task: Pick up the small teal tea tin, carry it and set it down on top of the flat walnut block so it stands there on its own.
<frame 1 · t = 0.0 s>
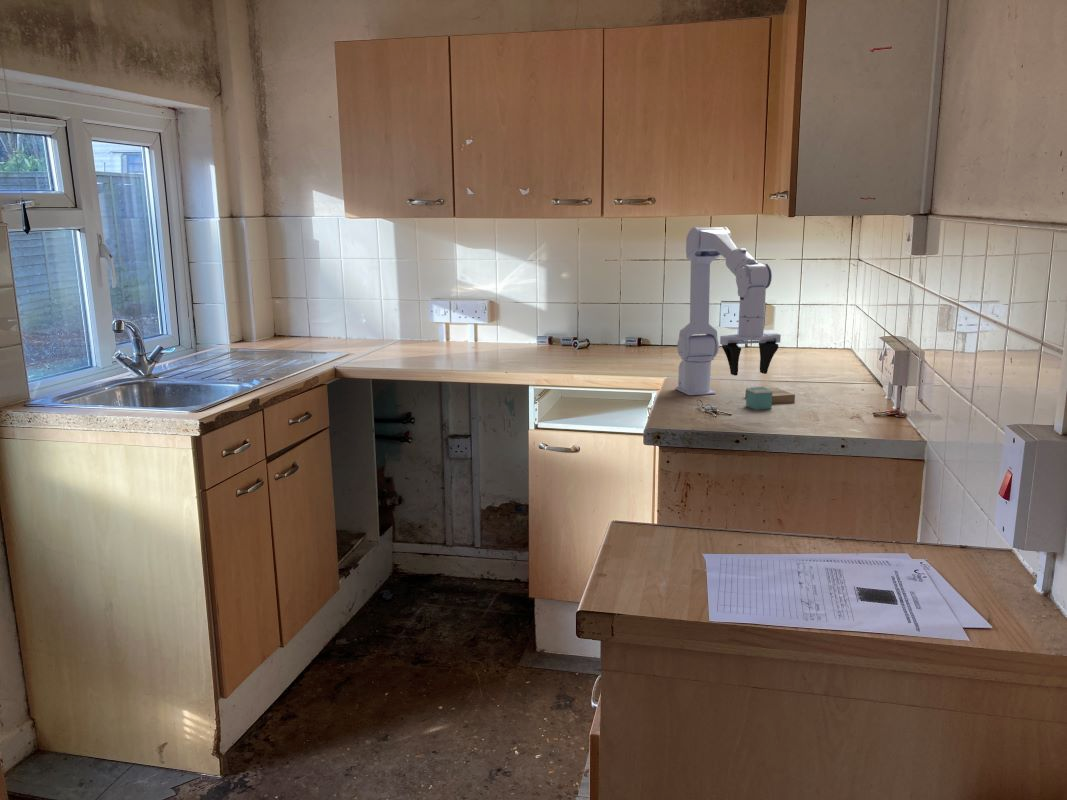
hand: (748, 373, 195), 10 cm above the table, fingers open, 7 cm apart
walnut block: (769, 401, 214), on the table
teal tin: (758, 407, 206), on the table
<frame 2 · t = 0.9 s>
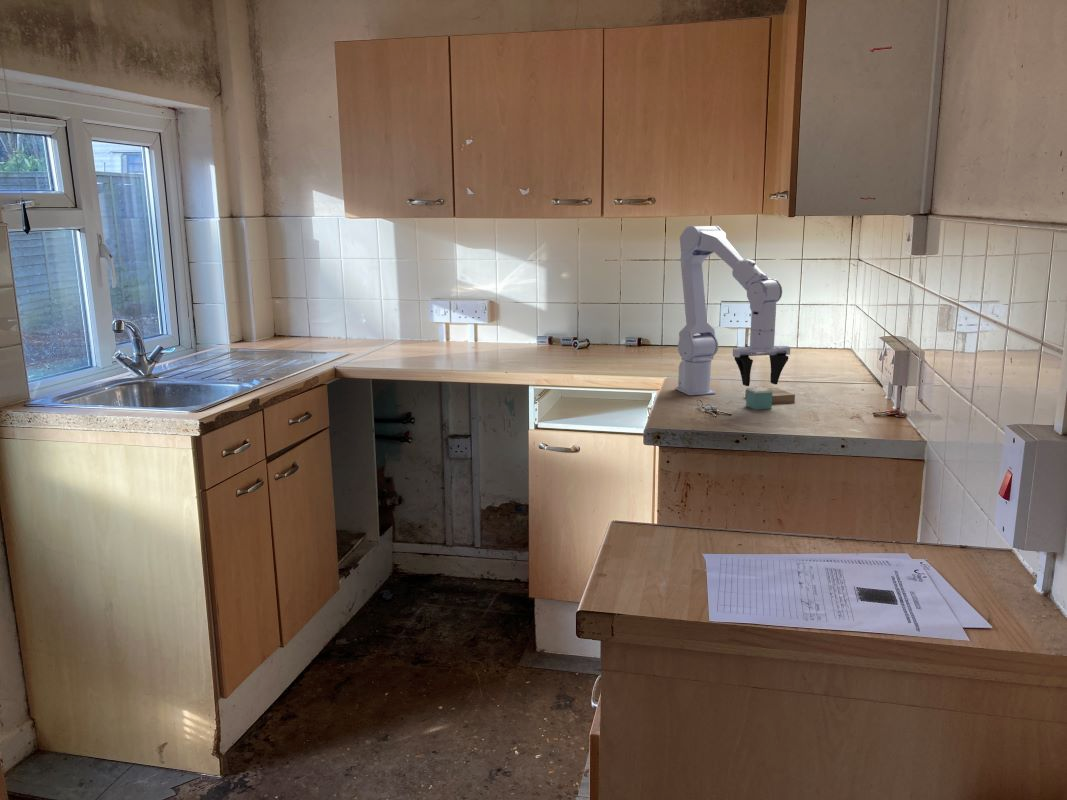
hand: (760, 384, 204), 6 cm above the table, fingers open, 7 cm apart
nothing on the table moved.
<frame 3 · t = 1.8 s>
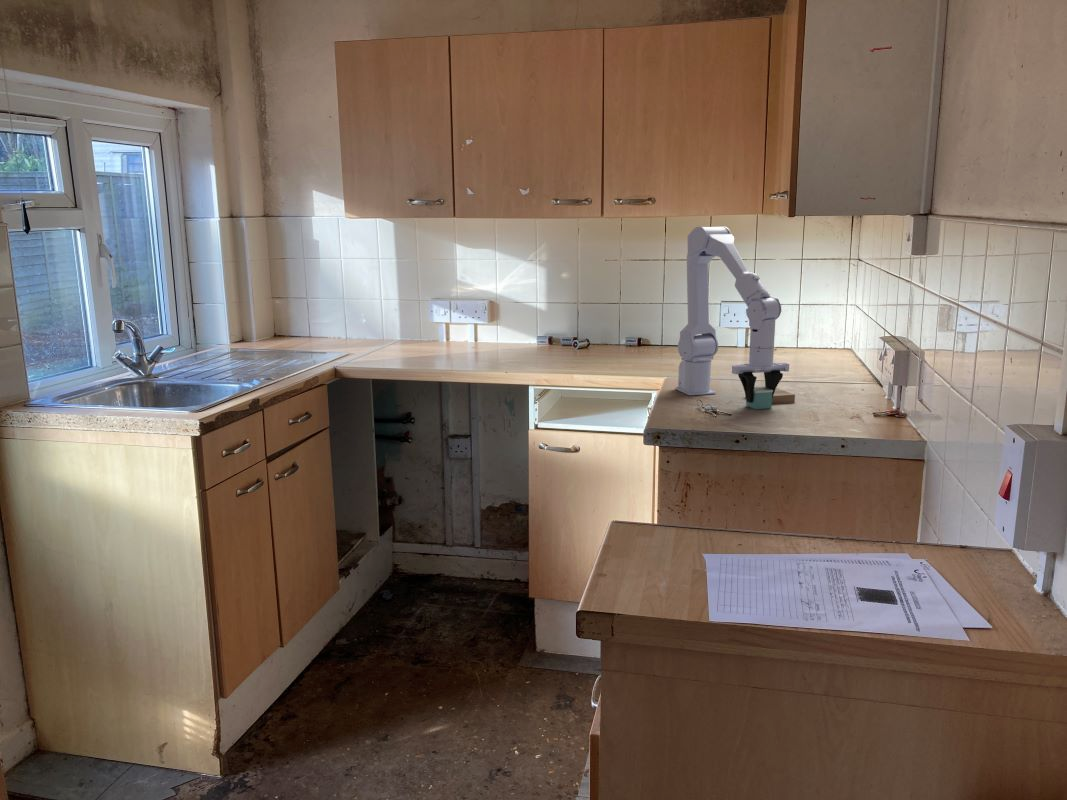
hand: (758, 401, 205), 1 cm above the table, fingers closed on teal tin, 5 cm apart
teal tin: (758, 406, 206), on the table, touching gripper
everything else where it was.
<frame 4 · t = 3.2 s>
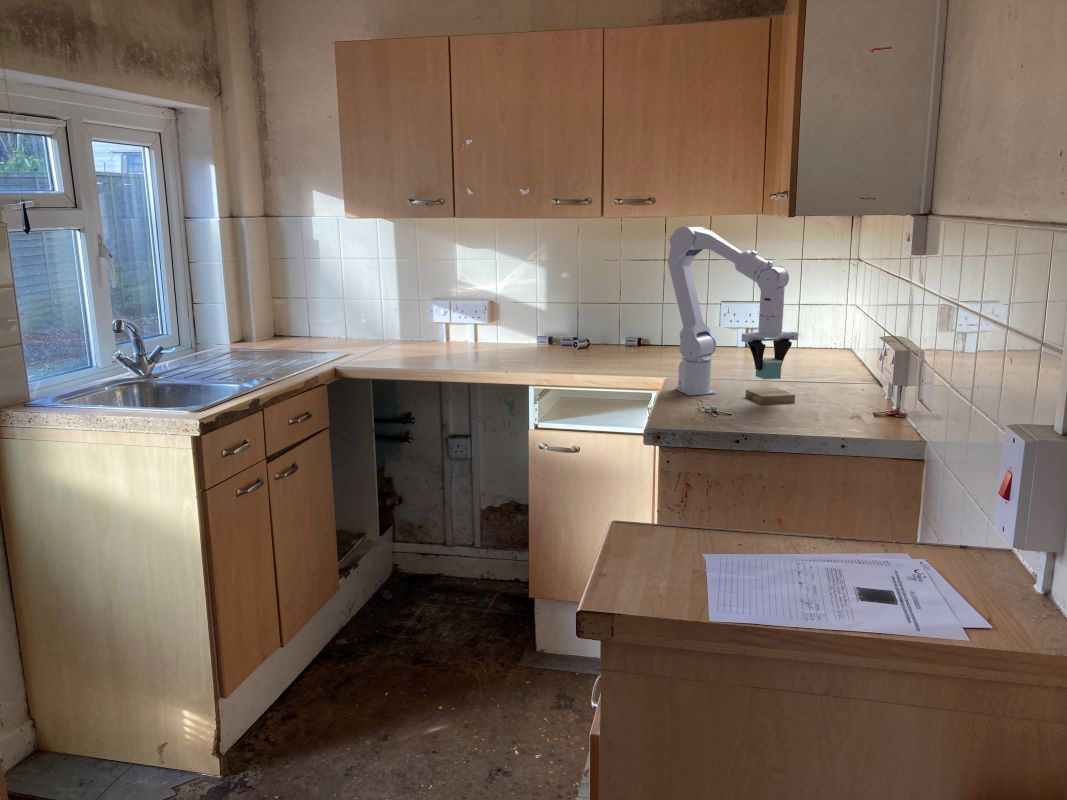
hand: (768, 369, 210), 8 cm above the table, fingers closed on teal tin, 5 cm apart
teal tin: (767, 377, 210), point 6 cm above the table, touching gripper
everything else where it was.
when the fingers open (4 cm above the table, at t = 4.8 s): teal tin stays where it is, resting on walnut block.
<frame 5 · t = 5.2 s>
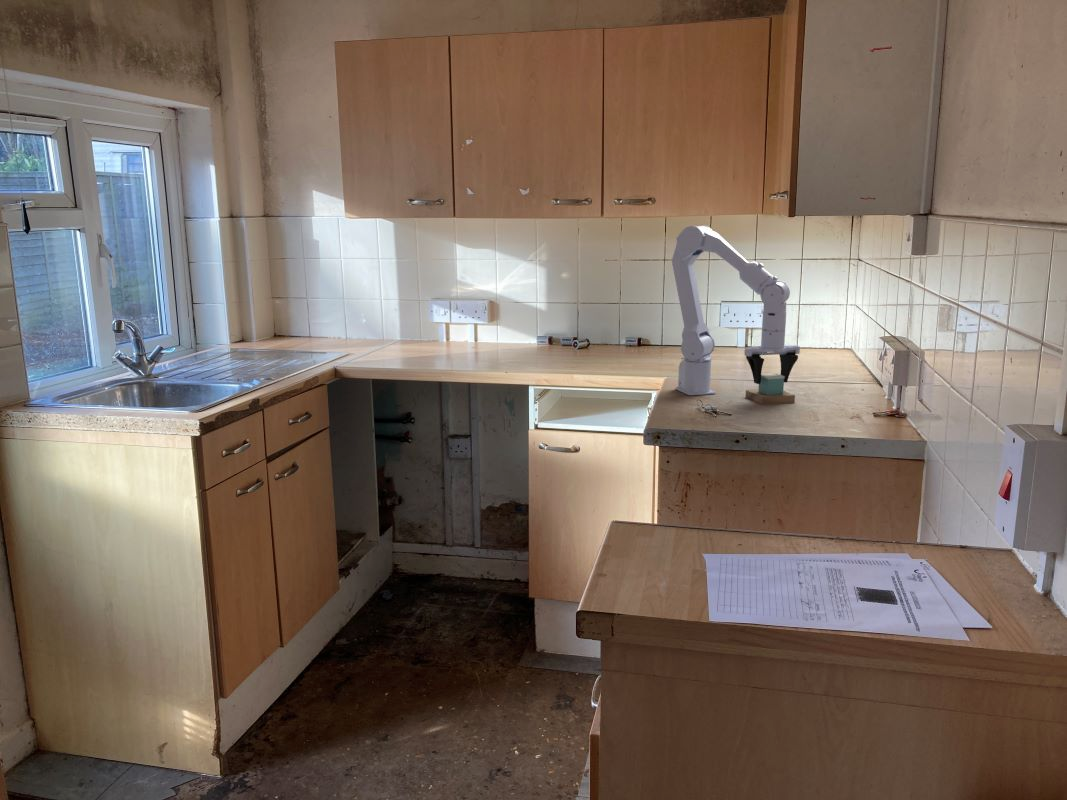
hand: (770, 382, 213), 4 cm above the table, fingers open, 7 cm apart
walnut block: (769, 401, 214), on the table, touching teal tin
teal tin: (770, 392, 213), point 2 cm above the table, touching walnut block
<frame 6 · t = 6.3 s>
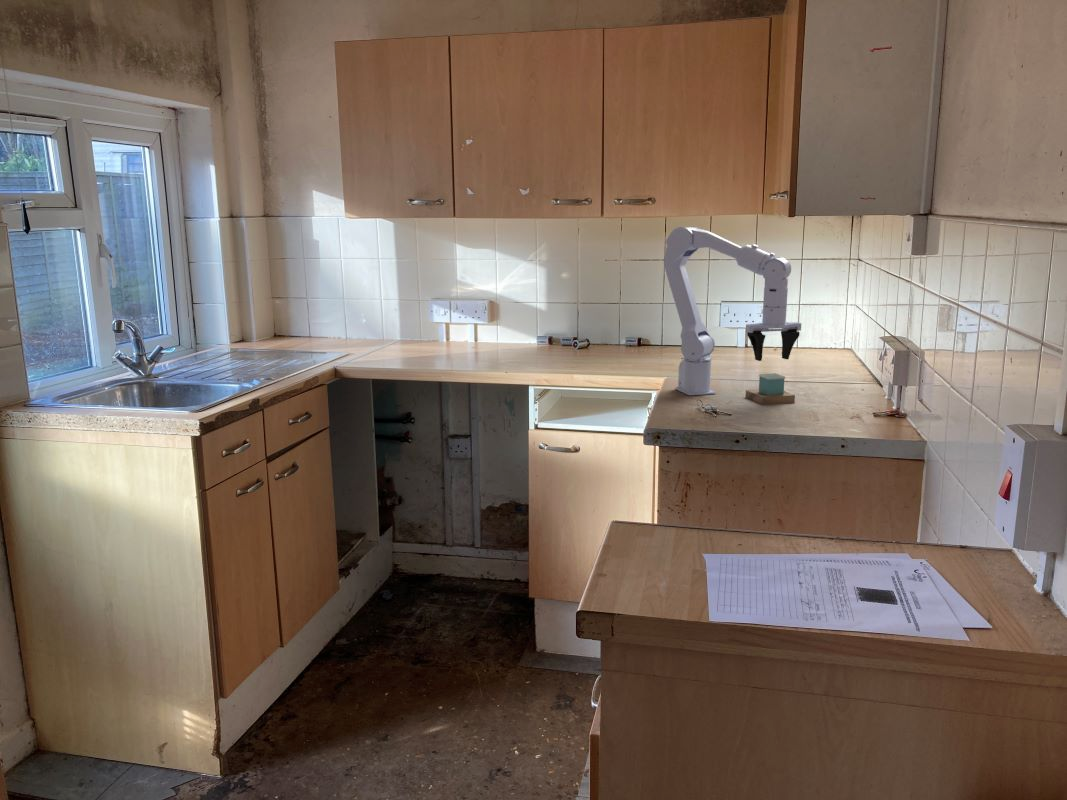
hand: (771, 359, 212), 10 cm above the table, fingers open, 7 cm apart
nothing on the table moved.
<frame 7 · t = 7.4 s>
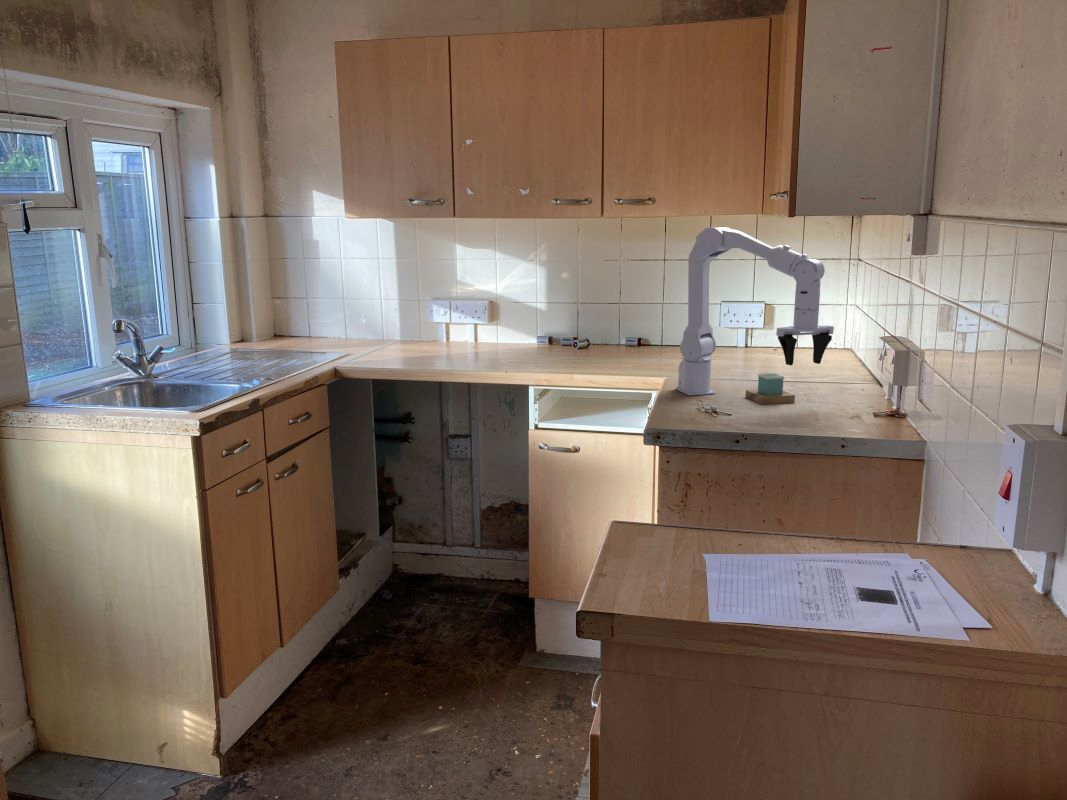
hand: (803, 364, 205), 10 cm above the table, fingers open, 7 cm apart
nothing on the table moved.
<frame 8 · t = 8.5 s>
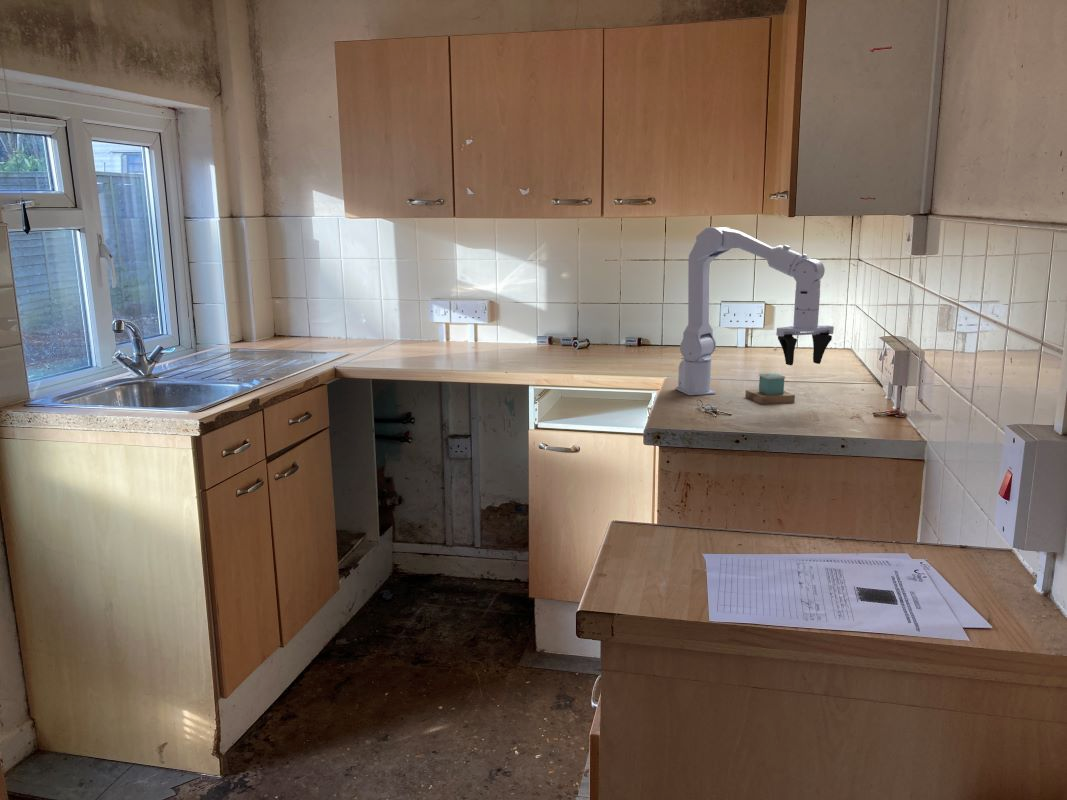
hand: (803, 364, 205), 10 cm above the table, fingers open, 7 cm apart
walnut block: (769, 401, 214), on the table
teal tin: (771, 392, 213), point 2 cm above the table
at the end: teal tin inside the target area on the walnut block (0.3 cm from its centre), point 2.4 cm above the walnut block's base; teal tin tilted 0°; teal tin touching walnut block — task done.
